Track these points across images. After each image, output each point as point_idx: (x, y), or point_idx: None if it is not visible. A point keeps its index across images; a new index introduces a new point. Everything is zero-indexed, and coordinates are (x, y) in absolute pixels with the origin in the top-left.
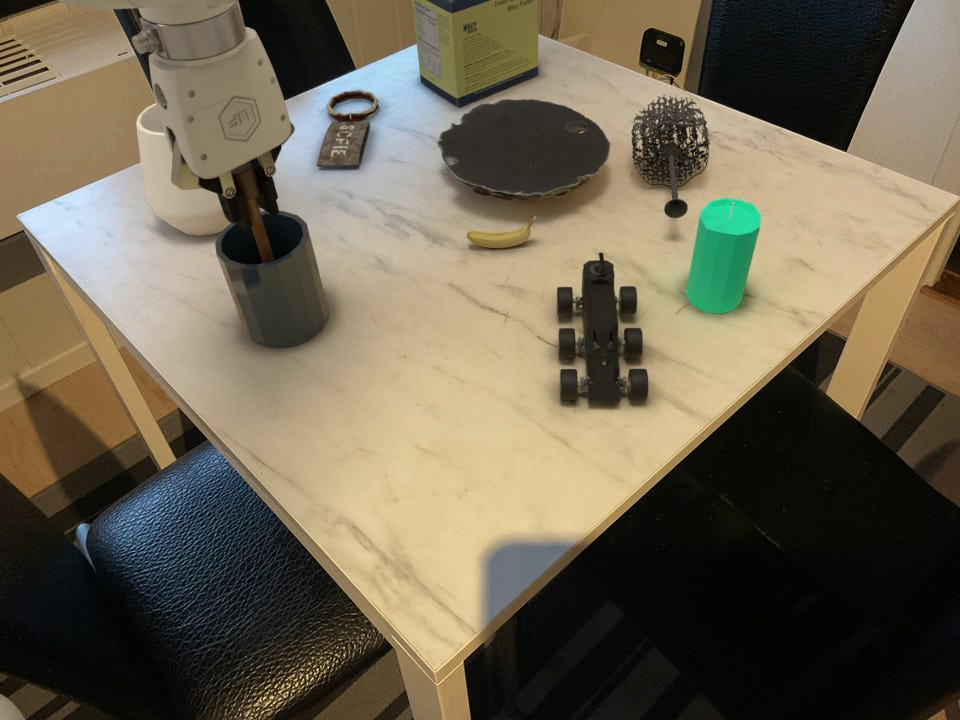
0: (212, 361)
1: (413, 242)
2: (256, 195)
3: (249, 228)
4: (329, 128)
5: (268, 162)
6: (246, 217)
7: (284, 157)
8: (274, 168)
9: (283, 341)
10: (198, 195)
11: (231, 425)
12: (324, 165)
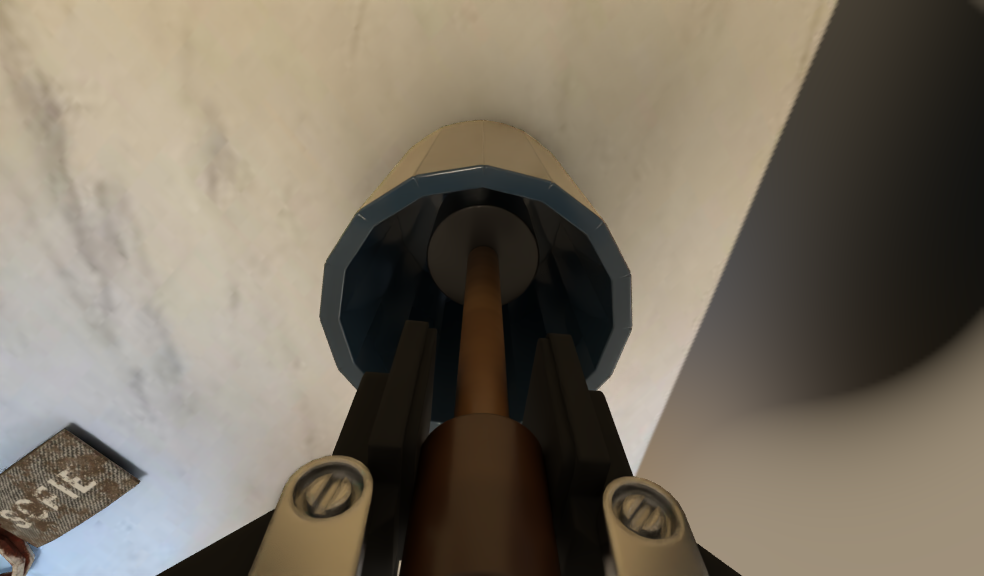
0: (649, 245)
1: (104, 156)
2: (476, 420)
3: (560, 334)
4: (50, 538)
5: (307, 546)
6: (568, 367)
7: (178, 535)
8: (295, 486)
9: (550, 152)
10: (399, 562)
11: (777, 72)
12: (125, 473)
